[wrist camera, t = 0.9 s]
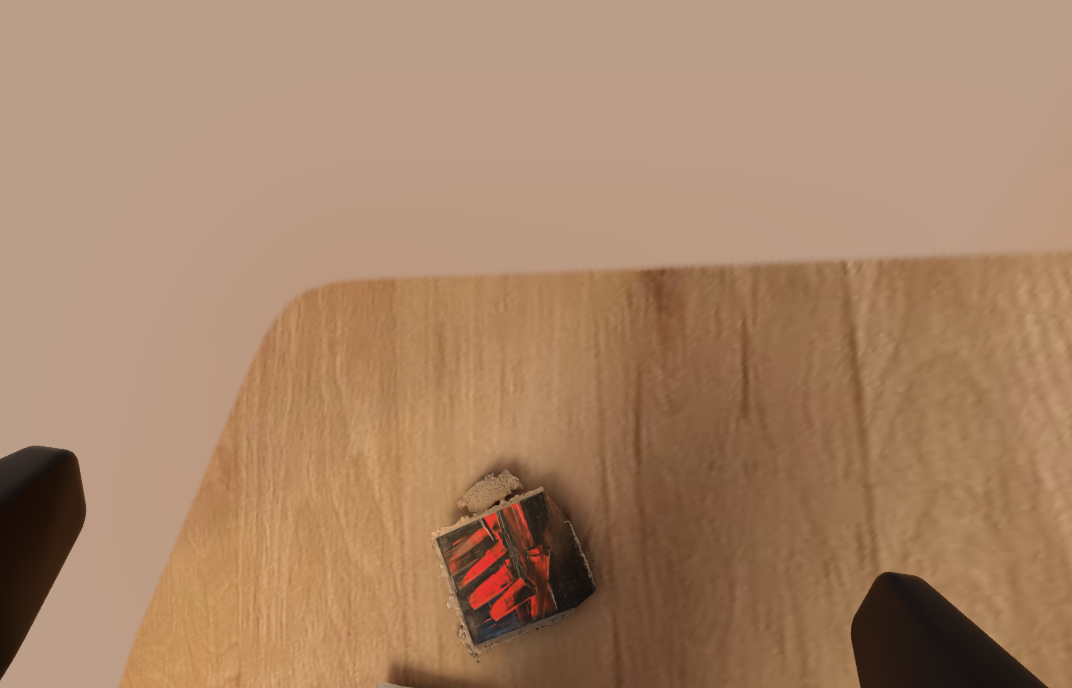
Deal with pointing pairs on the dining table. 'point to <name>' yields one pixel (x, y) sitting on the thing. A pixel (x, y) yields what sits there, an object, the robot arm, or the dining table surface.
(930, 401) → the dining table surface
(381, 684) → the condiment
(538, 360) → the dining table surface
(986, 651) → the robot arm
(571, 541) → the torn cardboard piece
